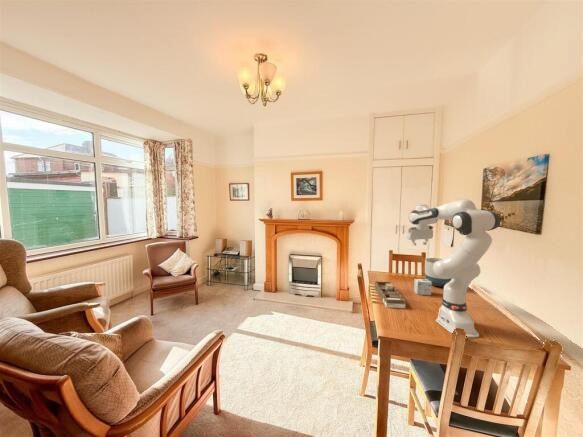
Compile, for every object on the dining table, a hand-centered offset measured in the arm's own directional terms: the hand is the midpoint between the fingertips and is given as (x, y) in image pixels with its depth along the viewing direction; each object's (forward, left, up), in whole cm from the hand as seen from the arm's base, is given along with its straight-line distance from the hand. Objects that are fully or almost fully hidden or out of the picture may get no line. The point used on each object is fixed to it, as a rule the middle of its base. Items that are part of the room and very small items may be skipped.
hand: (419, 244), depth 174 cm
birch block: (+4, +19, -38) cm, 42 cm away
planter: (+26, -27, -41) cm, 55 cm away
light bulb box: (+7, -7, -41) cm, 42 cm away
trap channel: (-3, +22, -41) cm, 46 cm away
